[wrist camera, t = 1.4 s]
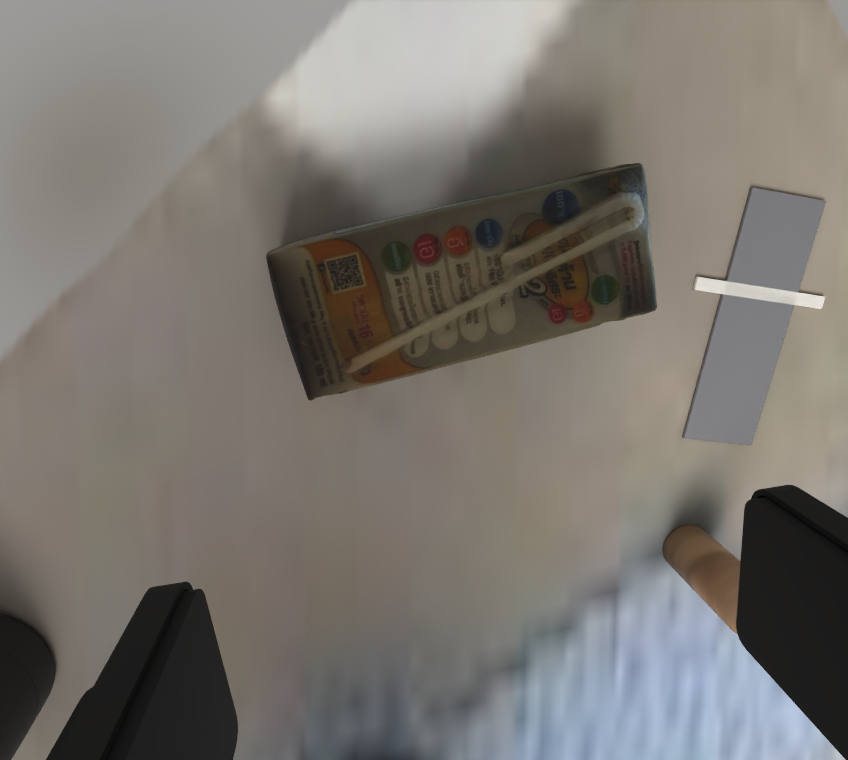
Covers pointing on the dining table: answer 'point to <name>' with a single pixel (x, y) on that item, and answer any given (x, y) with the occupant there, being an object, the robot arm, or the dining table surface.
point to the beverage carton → (465, 280)
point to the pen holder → (21, 682)
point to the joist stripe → (753, 314)
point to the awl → (705, 569)
